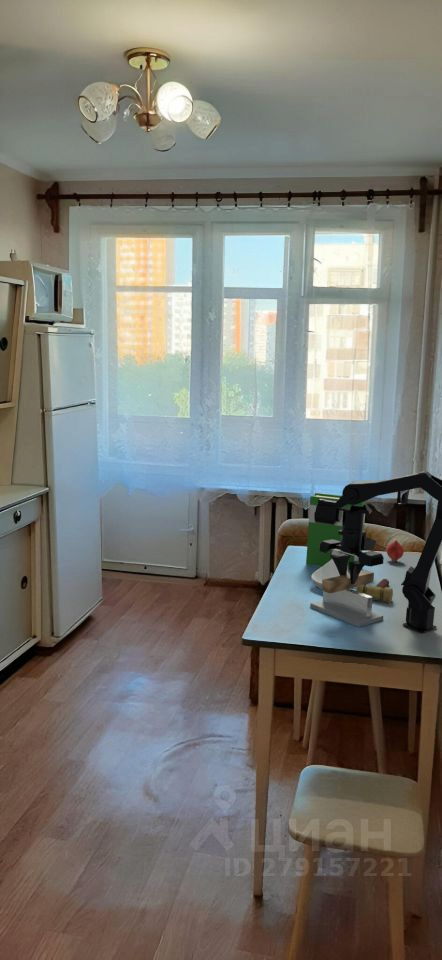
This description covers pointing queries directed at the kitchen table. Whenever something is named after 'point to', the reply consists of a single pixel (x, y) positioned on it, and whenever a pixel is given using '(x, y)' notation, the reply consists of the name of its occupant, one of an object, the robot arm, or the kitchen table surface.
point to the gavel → (378, 591)
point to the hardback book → (323, 532)
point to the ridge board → (345, 614)
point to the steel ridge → (350, 602)
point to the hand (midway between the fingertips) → (348, 582)
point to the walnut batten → (346, 582)
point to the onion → (395, 550)
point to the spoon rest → (325, 573)
